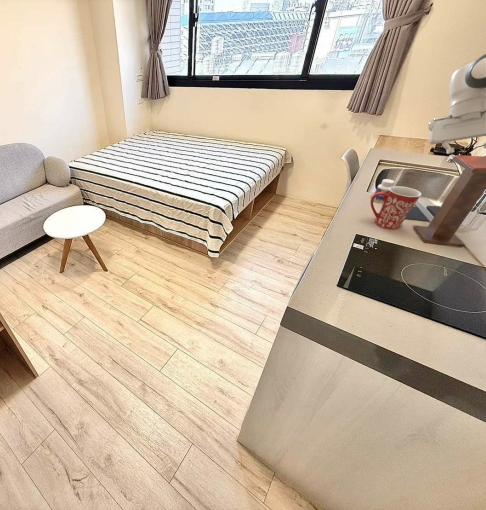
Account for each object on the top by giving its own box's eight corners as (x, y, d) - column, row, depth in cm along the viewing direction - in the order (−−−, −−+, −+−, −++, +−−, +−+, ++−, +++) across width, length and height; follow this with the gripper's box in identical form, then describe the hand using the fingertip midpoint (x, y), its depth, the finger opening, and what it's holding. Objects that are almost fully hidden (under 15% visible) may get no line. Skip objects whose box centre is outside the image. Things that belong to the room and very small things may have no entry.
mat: (429, 208, 112) (429, 207, 111) (442, 222, 103) (443, 222, 102) (393, 205, 115) (393, 204, 115) (403, 219, 106) (403, 218, 106)
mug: (401, 222, 105) (420, 188, 97) (403, 233, 99) (423, 198, 91) (362, 214, 111) (376, 182, 103) (361, 224, 105) (376, 191, 97)
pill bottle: (375, 203, 118) (384, 183, 113) (369, 197, 122) (378, 178, 117) (389, 203, 117) (399, 183, 112) (382, 198, 121) (392, 178, 116)
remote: (425, 203, 115) (429, 195, 113) (444, 223, 101) (449, 216, 99) (413, 202, 116) (417, 194, 114) (430, 222, 103) (435, 214, 101)
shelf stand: (446, 230, 98) (496, 156, 83) (463, 249, 90) (523, 170, 74) (411, 226, 102) (454, 155, 86) (424, 244, 93) (474, 167, 77)
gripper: (432, 116, 101) (433, 153, 102) (516, 99, 92) (516, 141, 92) (425, 122, 107) (425, 158, 107) (503, 108, 97) (504, 147, 98)
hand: (468, 150), depth 99 cm, fingers open, 8 cm apart
